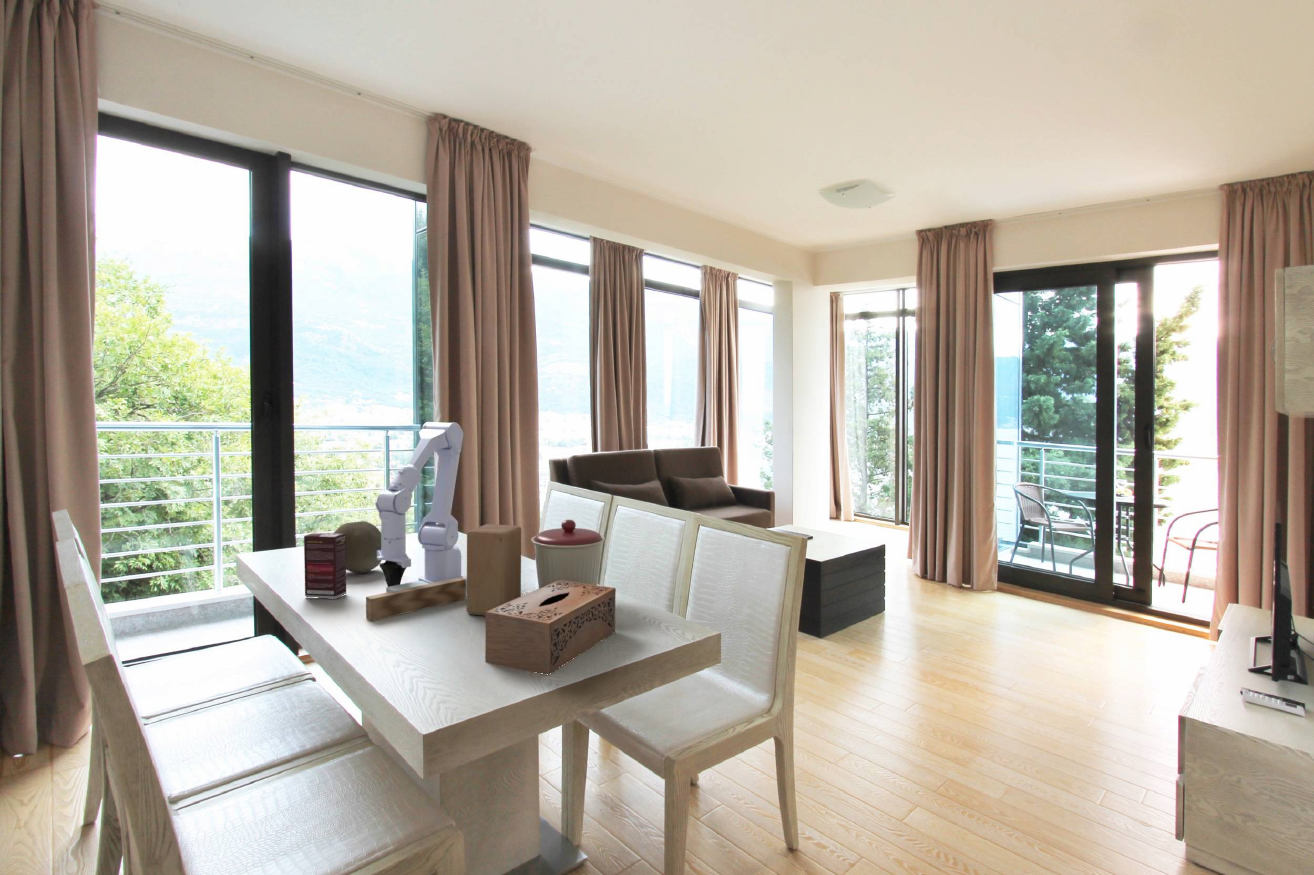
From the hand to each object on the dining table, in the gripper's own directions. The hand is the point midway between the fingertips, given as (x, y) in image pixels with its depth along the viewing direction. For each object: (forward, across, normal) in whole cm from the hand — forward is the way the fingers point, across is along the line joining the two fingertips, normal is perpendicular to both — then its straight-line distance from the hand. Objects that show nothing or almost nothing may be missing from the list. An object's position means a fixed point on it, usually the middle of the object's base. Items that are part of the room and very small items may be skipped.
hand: (393, 590), depth 164 cm
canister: (+2, +35, +28) cm, 45 cm away
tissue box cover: (+2, +55, +8) cm, 56 cm away
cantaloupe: (+2, -29, +3) cm, 29 cm away
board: (+2, +13, 0) cm, 13 cm away
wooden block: (+2, +27, +12) cm, 30 cm away
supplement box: (+2, -12, -12) cm, 17 cm away
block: (+2, +8, 0) cm, 9 cm away
